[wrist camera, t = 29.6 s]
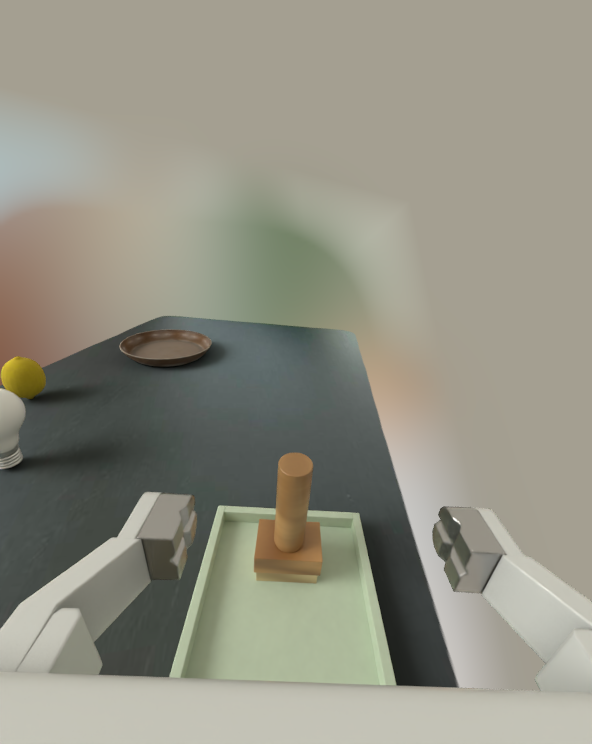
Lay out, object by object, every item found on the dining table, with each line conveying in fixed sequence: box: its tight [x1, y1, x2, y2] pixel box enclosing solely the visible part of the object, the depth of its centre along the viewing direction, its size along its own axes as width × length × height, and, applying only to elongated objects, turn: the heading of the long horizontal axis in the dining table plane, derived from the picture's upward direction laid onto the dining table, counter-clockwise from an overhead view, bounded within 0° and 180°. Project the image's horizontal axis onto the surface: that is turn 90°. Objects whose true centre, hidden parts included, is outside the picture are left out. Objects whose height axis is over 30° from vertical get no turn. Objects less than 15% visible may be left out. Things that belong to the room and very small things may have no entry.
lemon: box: [1, 356, 46, 399], centre depth 52 cm, size 6×6×8 cm
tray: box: [170, 506, 397, 686], centre depth 23 cm, size 16×24×2 cm, turn 0°
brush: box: [254, 453, 323, 584], centre depth 27 cm, size 6×4×12 cm, turn 90°
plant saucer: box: [120, 330, 212, 367], centre depth 75 cm, size 21×21×3 cm
